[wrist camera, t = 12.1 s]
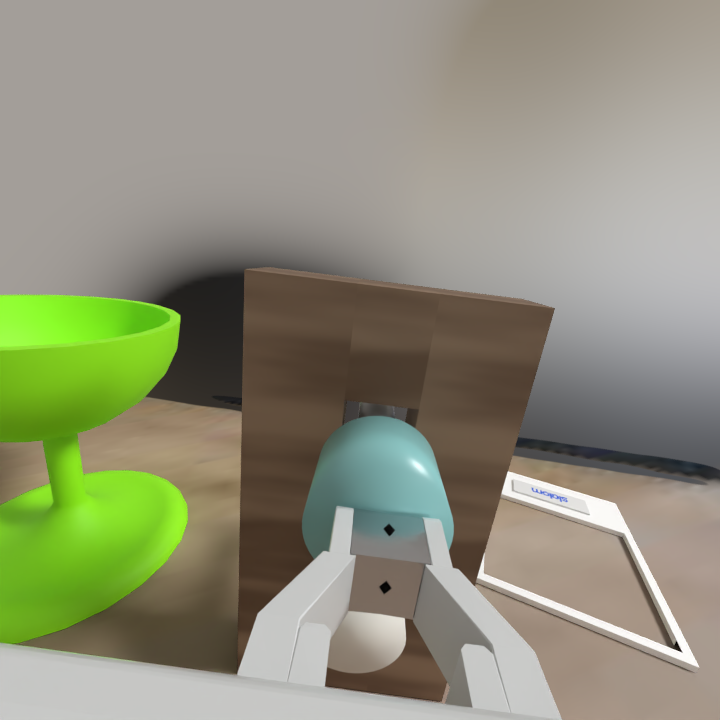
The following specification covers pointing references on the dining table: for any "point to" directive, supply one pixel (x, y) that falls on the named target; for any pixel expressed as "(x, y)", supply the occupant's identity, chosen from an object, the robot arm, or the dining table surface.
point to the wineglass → (79, 458)
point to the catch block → (384, 387)
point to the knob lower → (366, 642)
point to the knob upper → (374, 475)
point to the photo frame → (603, 519)
